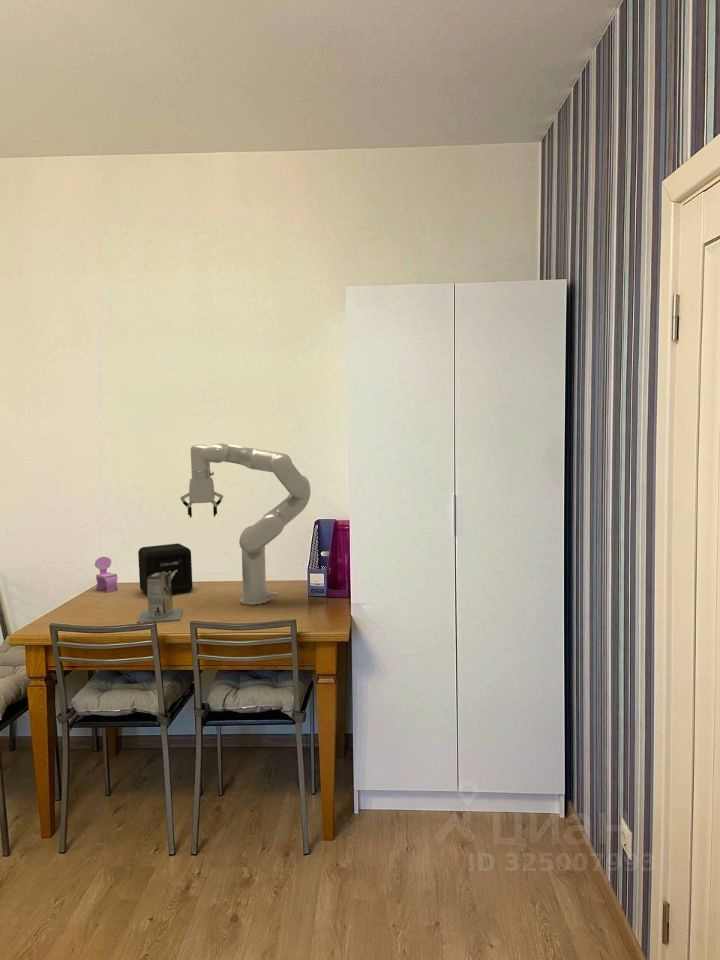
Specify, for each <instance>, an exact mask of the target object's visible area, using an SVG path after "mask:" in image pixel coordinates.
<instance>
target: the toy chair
mask: <svg viewBox="0 0 720 960" xmlns="http://www.w3.org/2000/svg"><path fill="white" fill-rule="evenodd" d="M111 565H112V559H111V558H110V557H107V556H101V557H98V558H97V559H96V560H95V562H94V566H95V568H96V569H97V570H99V574H96V576H95V578H96V588H95V590H94V591H95V592H97V591H100V590H105V589H106V590H105V594H108V593H112V592H116V591H119V588H118V578H119V577H118V573H112V572H109V571H108V568H110V567H111ZM107 571H108V572H107Z"/></svg>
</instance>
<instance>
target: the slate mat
mask: <svg viewBox="0 0 720 960" xmlns="http://www.w3.org/2000/svg"><path fill="white" fill-rule="evenodd" d="M183 610H184V609H183V608H173V612H171V613H170V614H169V615H167V616H166V617H164V618H149V612H148V610H141V612H140V614H139V616H138V619H137V621H136V624H141V623H140V622H150V621H156V622H155V623H163V622H180V621H181V618H182V614H183Z"/></svg>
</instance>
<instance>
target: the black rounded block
mask: <svg viewBox="0 0 720 960" xmlns="http://www.w3.org/2000/svg"><path fill="white" fill-rule="evenodd" d="M137 554H138V557H137V558H138V576H139V579H138V580H139V588H140V590H141V591H142V592H143V593H144V594H146V595H147V596H148V594H147V577H149V576H150V575H152V574H154V573H156V572H165V573H166V572H171V588H172V594H173V595H179V593H181V594H187V593H186V592H188V593H190V592H191V591H192V590H193V566H192V565H193V564H192V550H191V549H190V548H189V547H187V546H185V545H183V544H181V543H178V542H177V543H169V544H160V545H159V544H158V545H151V546H142V547H139V549H138V552H137Z"/></svg>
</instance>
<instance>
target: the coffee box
mask: <svg viewBox="0 0 720 960" xmlns="http://www.w3.org/2000/svg"><path fill="white" fill-rule="evenodd" d="M147 594H148V595H147ZM147 594H146V595H147V603H148V604H147V606H148V608H147V611H148V612H149V618H164V617H166V616H167V615H169V614H170V613H171V612H173V609H174V608H173V607H174V606H173V595H172V588H171V572H166V573H165V572H156V573H154V574H152V575H150V576H149V577H147Z"/></svg>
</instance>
